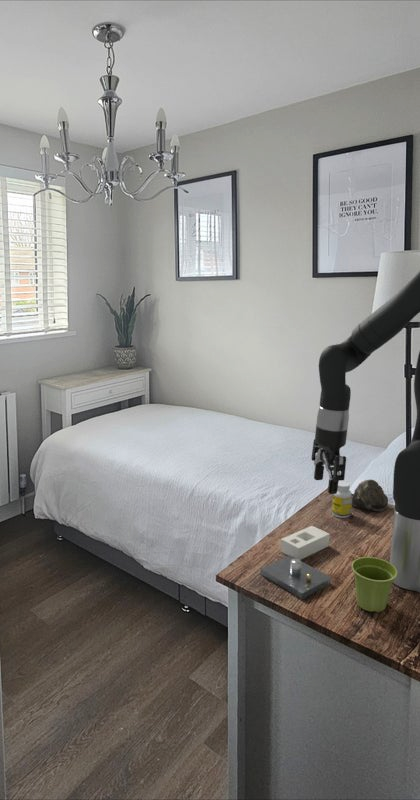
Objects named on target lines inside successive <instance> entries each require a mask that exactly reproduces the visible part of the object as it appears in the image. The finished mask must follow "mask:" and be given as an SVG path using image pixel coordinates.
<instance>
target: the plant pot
mask: <svg viewBox="0 0 420 800" xmlns="http://www.w3.org/2000/svg"><path fill="white" fill-rule="evenodd" d="M351 570H352V572H353V576H354V580H355V581H354V583H355V598H356V599H355V600H356V603H357V605H358V607H360V608H361V609H363V610H364V611H367V612H377V613H381V612H383V611H384V610H385V609H386V607H387V605H388V599H389V598H390V597H389V596H390V593H391V588H392V585H393V584H394V583H393V581H394V579H395V578H396V577H397V569H396V568H395V566H394V565H392V564H391V563H390V561H387V560H385V559H383V558H379V557H375V556H374V557H373V556H362V557H361V556H360V557H358V558H356V559H354V560H353V561H352V562H351Z"/></svg>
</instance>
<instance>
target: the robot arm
mask: <svg viewBox="0 0 420 800" xmlns="http://www.w3.org/2000/svg"><path fill="white" fill-rule="evenodd" d="M419 313H420V270H418V272H417V273H416V274H415V275H414V276H413V277H412V278H411V279H410V280H409V281H408V282H407V283H406V284H405V285H404V286H403V287H402V288H401V289H400V290H398V292H397V293H396V294H394V295H393V296H392V297H391V298H390V299H388V300H387V301H386V302H385V303H384V304H383V305H381V306H380V307H379V308H377V309H375V311H374V312H372V313H371V314H370V315H369V316H367V317H366V318H365V319H363V320H362V321H361V322H360V323H359V324H358V325H357V326H355V328H353V329H352V332H351V334H350V336H349V337H348V338H347V339H345V340H344V341H342V342H340V343H336V344H331V345H329V346H326V347H325V348H324V349H323V350H322V352H321V353H320V355H319V360H318V373H319V383H320V387H321V391H320V397H319V406H318V407H319V408H318V410H317V416H316V424H315V432H314V433H315V434H314V439H313V445H312V451H311V461H312V462H313V464H314V471H313V473H314V475H313V479H314V480H316V481H323V479H324V472H325V470H326V472H327V473H328V478H329V480H328V487H327V493H328V494H329V495H333V494H336V493H337V490H338V482H339V481H344V480H345V476H346V464H347V457H346V455H342V456H341V450H340V449H341V448H343V447H345V445H347V444H346V443H347V438H348V437H347V436H348V428H349V421H350V418H349V417H350V412H349V411H350V403H351V387H350V386H349V385H348V384H346V382H347V380H346V374H347V373H350V372H351V371H353V370H355V369H356V368H358V367H359V366H360V365H361V364H363V363H364V362H365V361H366V360H367V359H368V357H370V356H371V355H372V353H374V352H375V351H377V350H378V349H380V348H381V347H382V346H384V345H385V344H387V343H388V342H390V341H391V340H392V339H393V338H395V336H397V335H398V334H399V333H400V332H401V331H402V330H403V329H404V328H405V327H406V326H407V325H408V324H409V323H410V322H411V321H412V320H413V319H414V318H415V317H416V316H417V315H419ZM415 367H416V368H415V371H414V372H415V373H414V378H413V380H414V381H413V392H414V399H415V401H414V402H415V407H416V419H415V420H416V421H415V424H414V425H415V426H414V430H413V434H412V438H411V439H410V440H411V441H410V442H409V445H408V446H407V447H405V448H404V449H402V450H401V451H400V452H398V454H397V455H396V458H395V460H394V461H395V462H394V467H393V482H392V483H393V485H392V497H393V502H394V513H393V522H392V523H393V524H392V533H391V534H392V535H391V546H390V556H389V557H390V558H389V563H391V564H392V565H394V566H395V568H396V569H397V577H396V578H395V579H394V581H393V583H392V584H394V585H396V586H397V587H399V588H402V589H404V590H409V591H415V592H418V593H420V350H419V352H418V356H417V361H416V365H415Z"/></svg>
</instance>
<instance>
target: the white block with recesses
mask: <svg viewBox="0 0 420 800" xmlns="http://www.w3.org/2000/svg"><path fill="white" fill-rule="evenodd" d="M330 538H331V535H330V532H326V531H324V530H322V529H320V528H317V527H315V526H314V525H310V526H307V527H306V528H303V529H301V530H299V531H296V532H294V533H292V534H289V535H287V536H285V537H282V538H281V539H280V553H282V554H285V555H287V556H289V555H291V556H292V557H294V558H296V559H299V560H301V561H302V560H303V559H305V558H308V557H309V556H311V555H314V554H315V553H318V552H319V551H322V550H323V549H326V548H328V547H330Z"/></svg>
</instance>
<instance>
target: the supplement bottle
mask: <svg viewBox="0 0 420 800" xmlns="http://www.w3.org/2000/svg"><path fill="white" fill-rule="evenodd" d="M350 487H351V486H350V483H349V482H347V481H344V480H339V482H338V490H337V493H336V494H332V502H331V503H332V504H331V505H332V506H331V513H332V515H333V516H334V517H335V518H340V519H345V518H349V517H350V516H351V510H352V505H351V502H352V498H353V495H352V491H351V490H350Z"/></svg>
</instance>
